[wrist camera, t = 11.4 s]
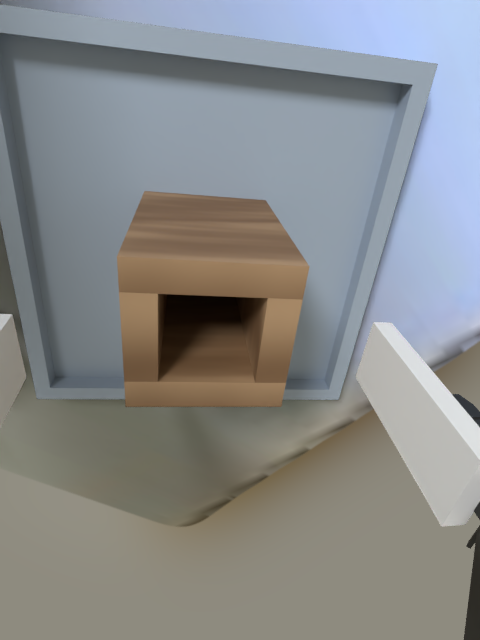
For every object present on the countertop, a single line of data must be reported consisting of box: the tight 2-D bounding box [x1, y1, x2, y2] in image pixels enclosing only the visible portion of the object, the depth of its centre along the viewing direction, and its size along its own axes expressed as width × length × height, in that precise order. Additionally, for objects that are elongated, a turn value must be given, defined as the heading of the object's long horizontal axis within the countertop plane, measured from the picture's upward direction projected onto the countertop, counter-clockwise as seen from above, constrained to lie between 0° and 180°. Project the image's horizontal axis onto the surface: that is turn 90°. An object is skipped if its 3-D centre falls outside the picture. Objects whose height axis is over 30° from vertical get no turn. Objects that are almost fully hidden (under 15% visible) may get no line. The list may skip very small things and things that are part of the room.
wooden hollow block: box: [117, 191, 309, 407], centre depth 21 cm, size 9×7×10 cm
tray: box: [0, 4, 438, 400], centre depth 24 cm, size 22×22×2 cm
